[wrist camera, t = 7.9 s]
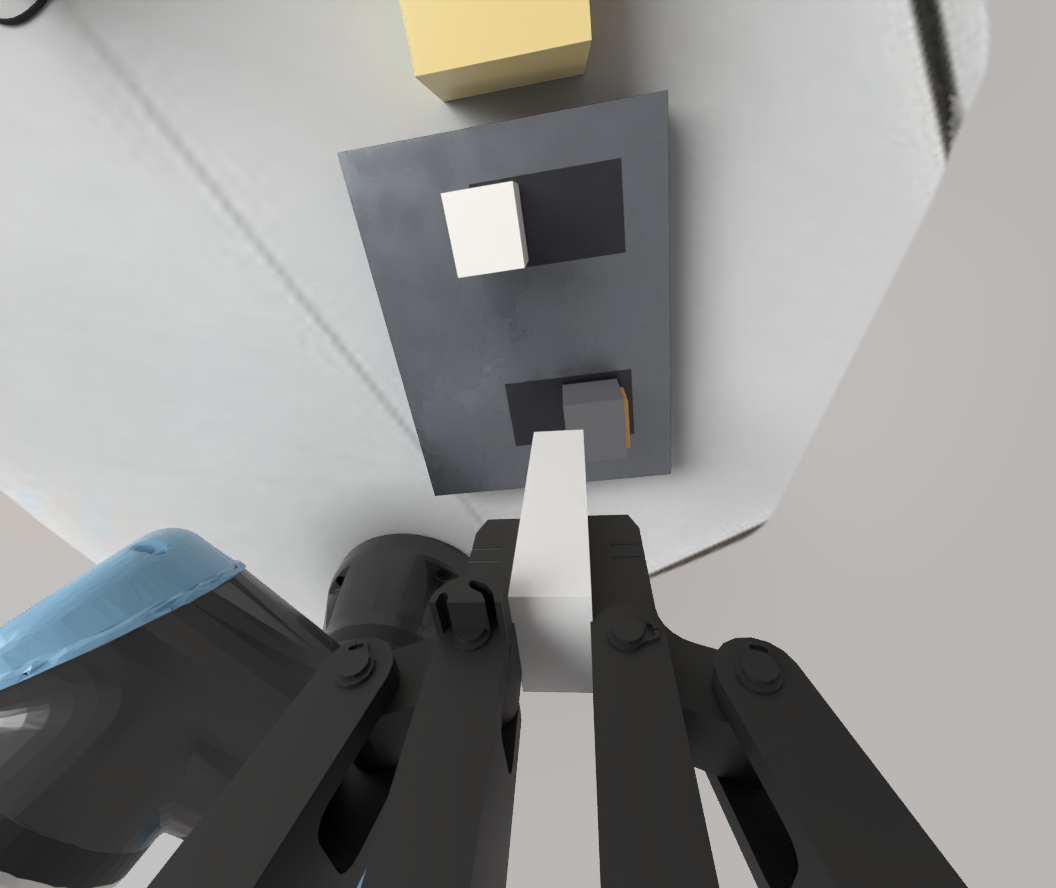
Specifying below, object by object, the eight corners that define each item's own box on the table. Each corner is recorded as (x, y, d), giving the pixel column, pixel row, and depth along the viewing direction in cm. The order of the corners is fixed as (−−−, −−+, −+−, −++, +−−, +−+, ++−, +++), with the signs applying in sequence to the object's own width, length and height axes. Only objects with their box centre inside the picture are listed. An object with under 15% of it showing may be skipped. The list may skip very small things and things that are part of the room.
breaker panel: (662, 454, 36) (671, 473, 34) (443, 475, 39) (435, 495, 36) (656, 101, 26) (667, 90, 23) (358, 157, 28) (337, 152, 26)
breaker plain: (528, 260, 27) (524, 267, 24) (469, 269, 28) (458, 278, 24) (518, 183, 25) (512, 180, 22) (455, 194, 26) (440, 193, 23)
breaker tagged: (624, 432, 32) (631, 457, 29) (568, 438, 33) (570, 463, 29) (621, 378, 30) (628, 398, 27) (562, 384, 31) (562, 406, 28)
